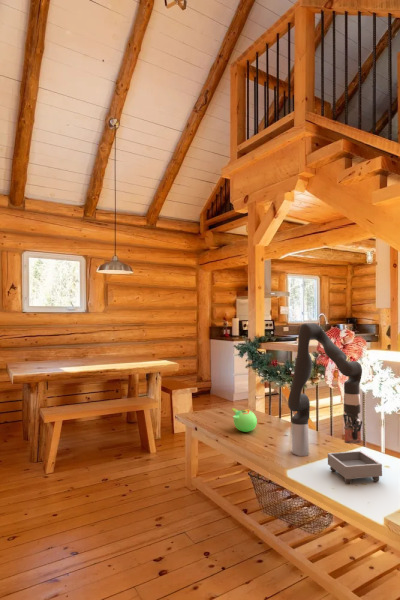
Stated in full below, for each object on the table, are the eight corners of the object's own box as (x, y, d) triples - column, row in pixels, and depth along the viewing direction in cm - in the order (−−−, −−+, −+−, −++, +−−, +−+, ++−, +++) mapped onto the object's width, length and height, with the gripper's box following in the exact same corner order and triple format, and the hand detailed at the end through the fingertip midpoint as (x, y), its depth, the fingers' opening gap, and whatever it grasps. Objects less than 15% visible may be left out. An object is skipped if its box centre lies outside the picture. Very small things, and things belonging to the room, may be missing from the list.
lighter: (359, 441, 193) (359, 420, 193) (362, 443, 189) (362, 422, 189) (343, 441, 192) (342, 421, 193) (346, 443, 189) (345, 422, 189)
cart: (327, 470, 198) (327, 453, 198) (360, 467, 200) (360, 450, 201) (346, 485, 180) (346, 466, 180) (382, 482, 183) (381, 464, 183)
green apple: (258, 434, 256) (258, 412, 256) (232, 435, 256) (232, 412, 257) (255, 426, 274) (255, 405, 274) (231, 427, 274) (231, 406, 275)
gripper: (337, 399, 198) (338, 434, 197) (352, 406, 184) (353, 443, 183) (351, 399, 199) (352, 433, 198) (367, 405, 185) (368, 442, 184)
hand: (352, 437), depth 191 cm, fingers closed on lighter, 3 cm apart
